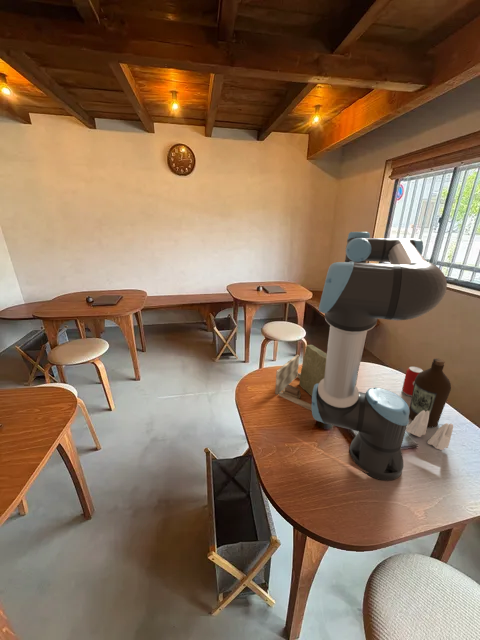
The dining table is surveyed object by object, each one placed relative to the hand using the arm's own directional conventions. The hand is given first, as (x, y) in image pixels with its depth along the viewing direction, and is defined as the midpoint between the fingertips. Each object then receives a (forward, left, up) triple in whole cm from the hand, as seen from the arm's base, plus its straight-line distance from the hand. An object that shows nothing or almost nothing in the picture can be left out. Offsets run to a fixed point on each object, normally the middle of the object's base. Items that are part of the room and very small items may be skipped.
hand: (345, 325), depth 109 cm
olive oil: (0, -32, -30) cm, 45 cm away
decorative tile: (-11, +6, -31) cm, 33 cm away
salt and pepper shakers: (-12, -34, -31) cm, 47 cm away
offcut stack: (-18, +13, -30) cm, 38 cm away
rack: (-11, +6, -30) cm, 33 cm away
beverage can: (+16, -26, -30) cm, 44 cm away
